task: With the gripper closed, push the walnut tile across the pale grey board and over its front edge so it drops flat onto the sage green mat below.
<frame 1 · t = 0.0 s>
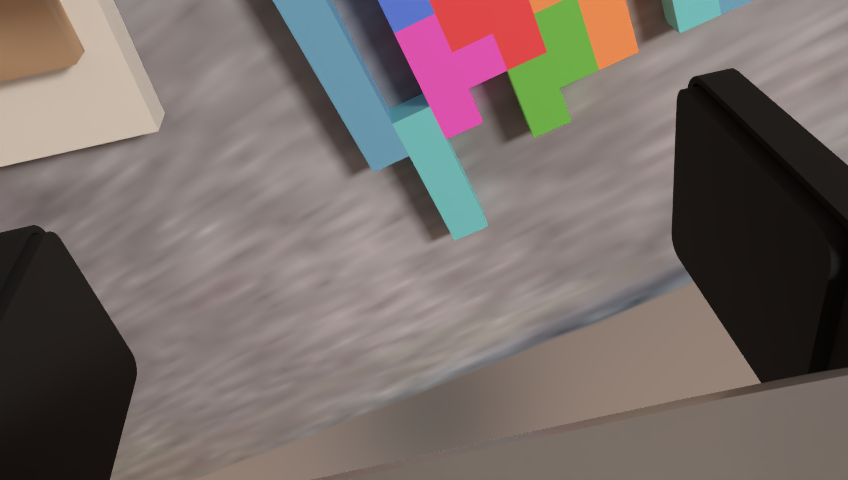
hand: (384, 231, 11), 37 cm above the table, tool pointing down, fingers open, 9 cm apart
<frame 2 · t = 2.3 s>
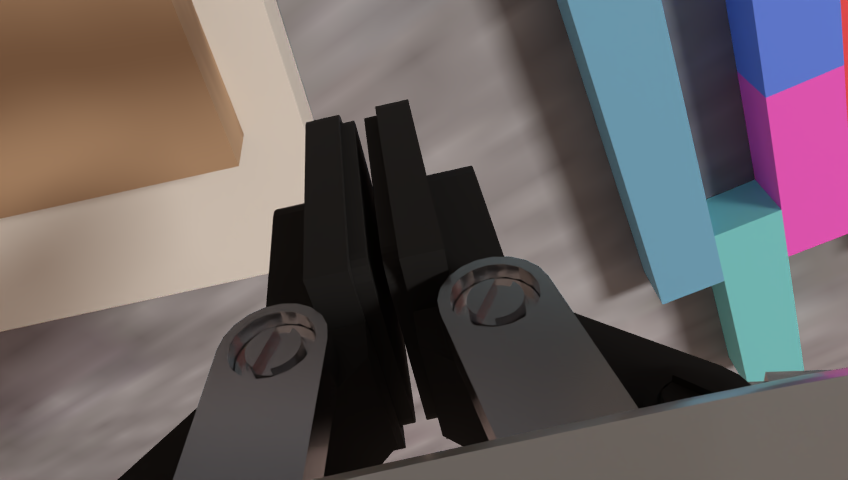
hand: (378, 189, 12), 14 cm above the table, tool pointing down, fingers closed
tile: (36, 20, 21), point 2 cm above the table, touching board
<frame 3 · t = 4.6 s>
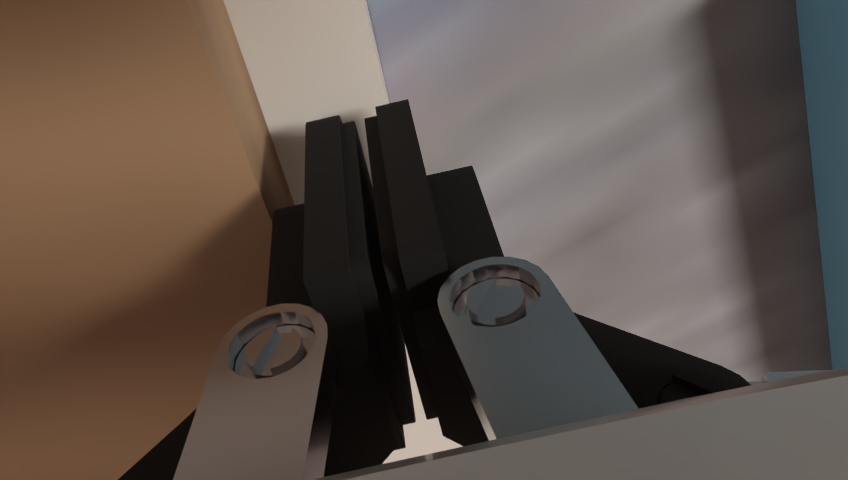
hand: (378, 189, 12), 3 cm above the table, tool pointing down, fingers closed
board: (49, 165, 15), on the table
tile: (34, 232, 13), point 3 cm above the table, touching gripper
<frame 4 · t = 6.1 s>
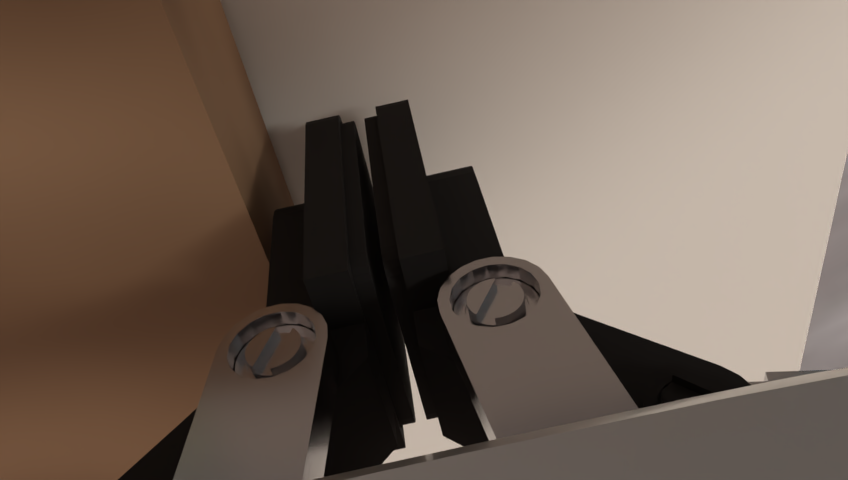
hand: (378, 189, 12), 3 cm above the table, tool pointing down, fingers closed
board: (453, 76, 15), on the table
tile: (37, 221, 13), point 2 cm above the table, tilted 7°
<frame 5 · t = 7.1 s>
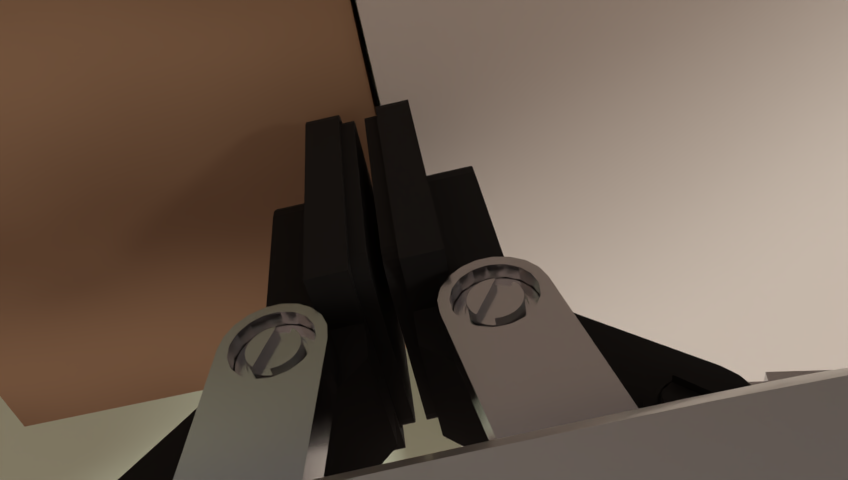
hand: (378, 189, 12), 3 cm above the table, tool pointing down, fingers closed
board: (720, 18, 14), on the table
tile: (153, 144, 14), resting on mat
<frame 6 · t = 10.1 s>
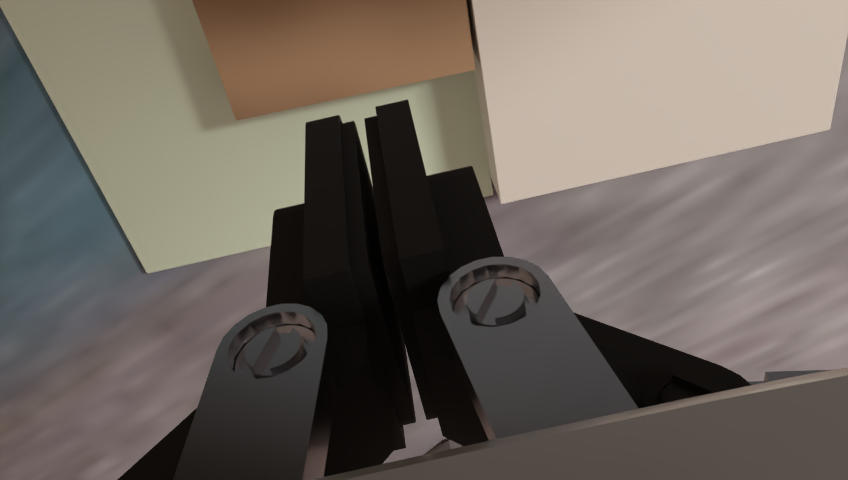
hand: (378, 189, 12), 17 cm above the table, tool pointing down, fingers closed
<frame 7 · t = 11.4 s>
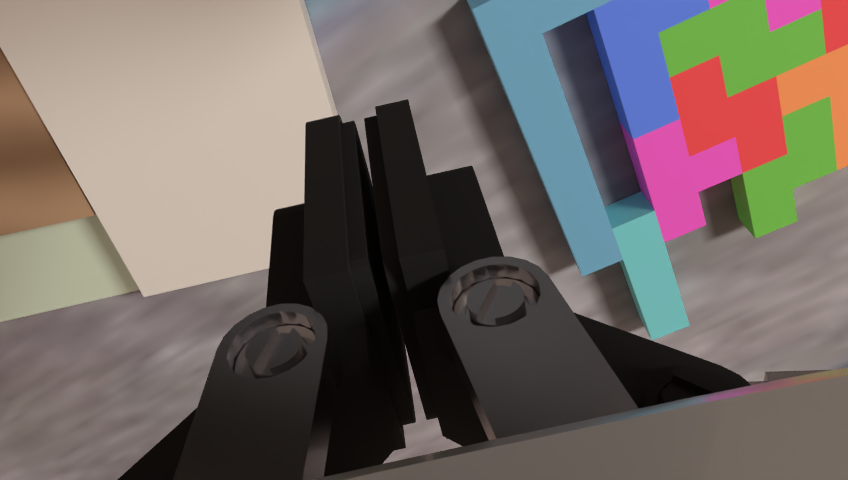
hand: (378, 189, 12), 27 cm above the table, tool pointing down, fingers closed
board: (193, 86, 38), on the table
tetris game: (756, 94, 44), on the table
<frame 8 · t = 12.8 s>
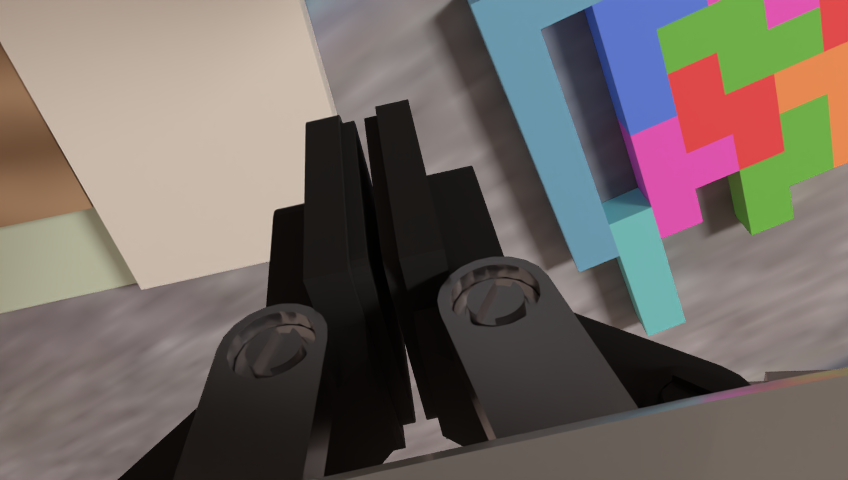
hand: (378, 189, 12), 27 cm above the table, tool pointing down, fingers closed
board: (191, 80, 38), on the table
tetris game: (754, 91, 44), on the table
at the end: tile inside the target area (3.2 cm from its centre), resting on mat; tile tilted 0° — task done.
